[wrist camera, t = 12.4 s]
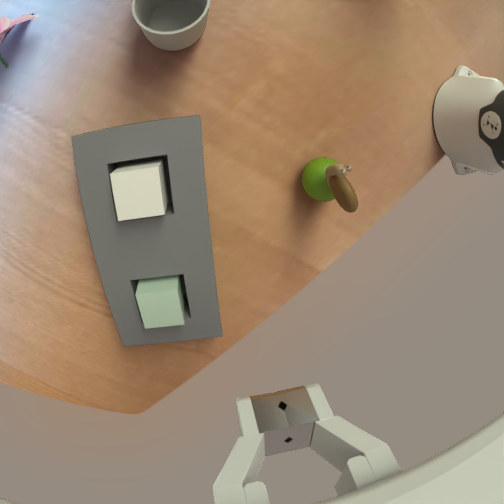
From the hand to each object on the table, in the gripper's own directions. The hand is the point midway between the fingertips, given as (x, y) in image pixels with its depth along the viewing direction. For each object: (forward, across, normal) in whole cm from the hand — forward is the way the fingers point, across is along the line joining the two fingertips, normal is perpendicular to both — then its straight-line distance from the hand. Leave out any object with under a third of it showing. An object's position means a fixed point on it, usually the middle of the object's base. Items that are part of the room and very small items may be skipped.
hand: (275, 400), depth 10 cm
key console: (+31, +8, +5) cm, 32 cm away
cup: (+31, +4, -22) cm, 39 cm away
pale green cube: (+29, +8, +12) cm, 32 cm away
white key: (+29, +8, -2) cm, 30 cm away
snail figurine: (+31, -13, -1) cm, 34 cm away
